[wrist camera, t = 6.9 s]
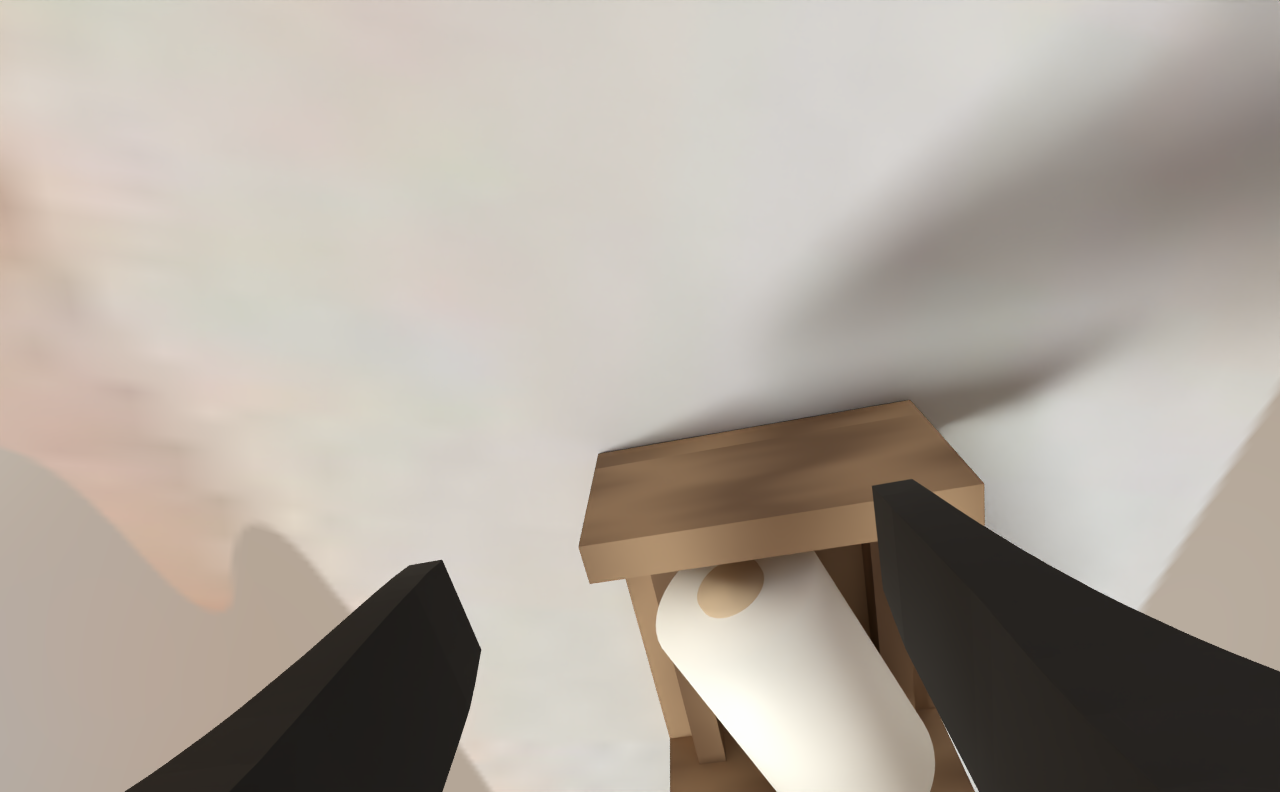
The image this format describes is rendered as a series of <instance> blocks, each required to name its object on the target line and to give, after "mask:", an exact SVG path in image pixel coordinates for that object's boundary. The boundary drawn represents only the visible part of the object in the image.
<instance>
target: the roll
mask: <svg viewBox="0 0 1280 792" xmlns="http://www.w3.org/2000/svg"><path fill="white" fill-rule="evenodd" d="M656 634H657V638H658V641H659V643H660V645H661V647H662V649H663V650H664V651H665V653H666V654H667V655H668V656H669V658H670V659H671V660H672V661H673V663H674V664H675V665H676V666H677V668H678V669H679V670H680V671H681V673H682V674H683V675H684V676H685V678H686V679H687V680H688V681H689V683H690V684H691V685H692V686H693V688H694V689H695V690H696V691H697V693H698V694H699V695H700V696H701V698H702V699H703V700H704V701H705V703H706V704H707V705H708V706H709V708H710V709H711V710H712V711H713V713H714V714H715V715H716V717H717V718H718V719H719V720H720V722H721V723H722V724H723V725H724V727H725V728H726V729H727V730H728V732H729V733H730V734H731V735H732V737H733V738H734V739H735V740H736V742H737V743H738V744H739V745H740V747H741V748H742V749H743V750H744V752H745V753H746V754H747V755H748V757H749V758H750V759H751V760H752V762H753V763H754V764H755V765H756V767H757V768H758V769H759V770H760V772H761V773H762V774H763V775H764V777H765V778H766V779H767V780H768V782H769V783H770V784H771V785H772V787H773V788H774V789H775V790H776V792H930V790H931V787H932V784H933V779H934V773H935V756H934V749H933V744H932V741H931V738H930V735H929V733H928V731H927V729H926V727H925V725H924V723H923V722H922V720H921V718H920V717H919V715H918V714H917V712H916V711H915V709H914V707H913V706H912V704H911V703H910V701H909V700H908V698H907V696H906V695H905V693H904V692H903V690H902V688H901V687H900V685H899V684H898V682H897V681H896V679H895V677H894V676H893V674H892V673H891V671H890V670H889V668H888V666H887V665H886V663H885V662H884V660H883V659H882V657H881V655H880V654H879V652H878V651H877V649H876V648H875V646H874V644H873V643H872V641H871V640H870V638H869V637H868V635H867V633H866V632H865V630H864V629H863V627H862V626H861V624H860V622H859V621H858V619H857V618H856V616H855V614H854V613H853V611H852V610H851V608H850V607H849V605H848V603H847V602H846V600H845V599H844V597H843V596H842V594H841V592H840V591H839V589H838V588H837V586H836V585H835V583H834V581H833V580H832V578H831V577H830V575H829V574H828V572H827V570H826V569H825V567H824V566H823V564H822V563H821V561H820V559H819V558H818V556H817V555H816V553H815V552H814V551H809V552H802V553H795V554H788V555H782V556H775V557H768V558H761V559H755V560H748V561H741V562H734V563H728V564H721V565H714V566H707V567H701V568H694V569H687V570H680V571H678V572H677V574H676V575H675V576H674V578H673V579H672V580H671V582H670V583H669V585H668V587H667V589H666V590H665V592H664V594H663V596H662V599H661V601H660V604H659V607H658V611H657V616H656Z"/></svg>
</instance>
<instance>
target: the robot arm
mask: <svg viewBox="0 0 1280 792" xmlns="http://www.w3.org/2000/svg"><path fill="white" fill-rule="evenodd" d="M872 493H873V502H874V511H875V521H876V530H877V539H878V548H879V558H880V567H881V576H882V586H883V591H884V593H885V596H886V599H887V601H888V604H889V607H890V610H891V612H892V615H893V618H894V621H895V623H896V626H897V628H898V631H899V633H900V636H901V639H902V641H903V644H904V646H905V649H906V651H907V653H908V655H909V657H910V659H911V661H912V663H913V665H914V667H915V669H916V671H917V672H918V674H919V676H920V678H921V680H922V682H923V684H924V686H925V688H926V690H927V692H928V694H929V696H930V698H931V700H932V702H933V704H934V706H935V707H936V709H937V711H938V713H939V715H940V717H941V719H942V721H943V723H944V725H945V727H946V729H947V731H948V733H949V734H950V736H951V738H952V740H953V742H954V744H955V746H956V748H957V750H958V752H959V754H960V756H961V758H962V760H963V761H964V763H965V765H966V767H967V769H968V771H969V773H970V775H971V777H972V779H973V781H974V783H975V785H976V787H977V788H978V790H979V792H1280V672H1279V671H1277V670H1274V669H1272V668H1269V667H1267V666H1264V665H1262V664H1259V663H1257V662H1254V661H1251V660H1249V659H1246V658H1244V657H1241V656H1239V655H1236V654H1234V653H1231V652H1229V651H1226V650H1224V649H1222V648H1219V647H1217V646H1215V645H1212V644H1210V643H1207V642H1205V641H1203V640H1200V639H1198V638H1196V637H1193V636H1191V635H1189V634H1187V633H1184V632H1182V631H1180V630H1178V629H1175V628H1173V627H1171V626H1169V625H1167V624H1165V623H1163V622H1161V621H1158V620H1156V619H1154V618H1152V617H1150V616H1147V615H1145V614H1143V613H1141V612H1139V611H1137V610H1135V609H1132V608H1130V607H1128V606H1126V605H1124V604H1122V603H1120V602H1118V601H1116V600H1114V599H1112V598H1110V597H1108V596H1106V595H1104V594H1102V593H1100V592H1098V591H1096V590H1094V589H1092V588H1090V587H1089V586H1087V585H1085V584H1083V583H1081V582H1079V581H1077V580H1076V579H1074V578H1072V577H1070V576H1068V575H1066V574H1064V573H1063V572H1061V571H1059V570H1057V569H1055V568H1053V567H1052V566H1050V565H1048V564H1046V563H1044V562H1043V561H1041V560H1039V559H1038V558H1036V557H1034V556H1032V555H1031V554H1029V553H1027V552H1025V551H1024V550H1022V549H1020V548H1019V547H1017V546H1015V545H1014V544H1012V543H1010V542H1009V541H1007V540H1006V539H1004V538H1002V537H1001V536H999V535H997V534H996V533H994V532H993V531H991V530H989V529H988V528H986V527H985V526H983V525H981V524H980V523H978V522H977V521H975V520H974V519H972V518H971V517H969V516H968V515H966V514H964V513H963V512H961V511H960V510H958V509H957V508H955V507H954V506H952V505H951V504H949V503H948V502H946V501H945V500H943V499H942V498H940V497H939V496H937V495H936V494H934V493H933V492H931V491H930V490H928V489H927V488H925V487H924V486H922V485H921V484H919V483H918V482H916V481H915V480H913V479H908V480H902V481H896V482H891V483H885V484H879V485H873V486H872ZM480 654H481V648H480V646H479V643H478V641H477V639H476V636H475V634H474V632H473V630H472V627H471V625H470V623H469V620H468V618H467V616H466V613H465V611H464V609H463V607H462V604H461V602H460V600H459V597H458V595H457V593H456V590H455V588H454V586H453V584H452V581H451V579H450V577H449V574H448V572H447V570H446V567H445V565H444V563H443V561H442V560H438V561H432V562H426V563H421V564H415V565H409V566H408V567H407V568H405V569H404V570H403V571H401V572H400V573H398V574H397V575H396V576H395V577H393V578H392V579H391V580H390V581H388V582H387V583H386V584H385V585H384V586H382V587H381V588H380V589H379V590H378V591H377V592H375V593H374V594H373V595H372V596H371V597H370V598H369V599H367V600H366V601H365V602H364V603H363V604H362V605H361V606H359V607H358V608H357V609H356V610H355V611H354V612H353V613H351V614H350V615H349V616H348V617H347V618H346V619H345V620H344V621H342V622H341V623H340V624H339V625H338V626H337V627H336V628H335V629H333V630H332V631H331V632H330V633H329V634H328V635H326V636H325V637H324V638H323V639H322V640H321V641H320V642H319V643H317V644H316V645H315V646H314V647H313V648H312V649H311V650H309V651H308V652H307V653H306V654H305V655H304V656H302V657H301V658H300V659H299V660H298V661H296V662H295V663H294V664H293V665H292V666H290V667H289V668H288V669H287V670H286V671H284V672H283V673H282V674H281V675H280V676H278V677H277V678H276V679H275V680H274V681H272V682H271V683H270V684H269V685H268V686H266V687H265V688H264V689H263V690H262V691H260V692H259V693H258V694H257V695H256V696H254V697H253V698H252V699H251V700H249V701H248V702H247V703H246V704H245V705H243V706H242V707H241V708H240V709H238V710H237V711H236V712H235V713H233V714H232V715H231V716H230V717H228V718H227V719H226V720H224V721H223V722H222V723H220V724H219V725H218V726H217V727H215V728H214V729H213V730H212V731H210V732H209V733H208V734H206V735H205V736H203V737H202V738H201V739H199V740H198V741H196V742H195V743H194V744H192V745H191V746H190V747H188V748H187V749H185V750H184V751H183V752H181V753H180V754H179V755H177V756H176V757H174V758H173V759H172V760H170V761H169V762H168V763H166V764H165V765H163V766H162V767H161V768H159V769H158V770H156V771H155V772H154V773H152V774H151V775H149V776H148V777H146V778H145V779H143V780H142V781H140V782H139V783H137V784H135V785H134V786H132V787H131V788H130V789H128V790H126V791H125V792H442V791H443V788H444V785H445V782H446V779H447V776H448V773H449V771H450V767H451V765H452V762H453V759H454V756H455V753H456V750H457V747H458V744H459V741H460V737H461V734H462V731H463V728H464V725H465V722H466V719H467V716H468V713H469V709H470V705H471V701H472V696H473V691H474V687H475V682H476V676H477V671H478V665H479V659H480Z"/></svg>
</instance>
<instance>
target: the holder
mask: <svg viewBox="0 0 1280 792" xmlns="http://www.w3.org/2000/svg"><path fill="white" fill-rule="evenodd" d="M908 479H913V480H915V481H916V482H918V483H919V484H921V485H922V486H924V487H925V488H927V489H928V490H930V491H931V492H933V493H934V494H936V495H937V496H939V497H940V498H942V499H943V500H945V501H946V502H948V503H949V504H951V505H952V506H954V507H955V508H957V509H958V510H960V511H961V512H963V513H964V514H966V515H968V516H969V517H971V518H972V519H974V520H975V521H977V522H978V523H980V524H981V525H983V526H984V525H985V515H984V483H983V482H982V481H981V480H980V478H979V477H978V476H977V475H976V474H975V473H974V472H973V471H972V469H971V468H970V467H969V466H968V465H967V464H966V463H965V461H964V460H963V459H962V458H961V457H960V456H959V455H958V454H957V452H956V451H955V450H954V449H953V448H952V447H951V446H950V445H949V443H948V442H947V441H946V440H945V439H944V438H943V437H942V436H941V434H940V433H939V432H938V431H937V430H936V429H935V428H934V426H933V425H932V424H931V423H930V422H929V421H928V420H927V419H926V417H925V416H924V415H923V414H922V413H921V412H920V411H919V410H918V408H917V407H916V406H915V405H914V404H913V403H912V402H911V400H906V401H901V402H895V403H889V404H883V405H878V406H872V407H866V408H860V409H855V410H849V411H843V412H837V413H832V414H826V415H820V416H814V417H808V418H803V419H797V420H791V421H785V422H780V423H774V424H768V425H762V426H757V427H751V428H745V429H739V430H734V431H728V432H722V433H716V434H710V435H705V436H699V437H693V438H687V439H682V440H676V441H670V442H664V443H659V444H653V445H647V446H641V447H636V448H630V449H624V450H618V451H612V452H607V453H601V454H598V458H597V462H596V467H595V472H594V477H593V481H592V486H591V491H590V495H589V500H588V505H587V509H586V514H585V519H584V523H583V528H582V533H581V538H580V542H579V550H580V554H581V557H582V560H583V563H584V567H585V570H586V573H587V576H588V580H589V583H590V584H592V583H599V582H606V581H613V580H620V579H626V582H627V586H628V589H629V593H630V596H631V600H632V604H633V607H634V611H635V614H636V618H637V622H638V625H639V629H640V632H641V636H642V640H643V643H644V647H645V650H646V654H647V657H648V661H649V665H650V668H651V672H652V675H653V679H654V683H655V686H656V690H657V693H658V697H659V701H660V704H661V708H662V711H663V715H664V719H665V722H666V726H667V729H668V733H669V737H670V792H776V790H775V789H774V788H773V787H772V785H771V784H770V783H769V782H768V780H767V779H766V778H765V777H764V775H763V774H762V773H761V772H760V770H759V769H758V768H757V767H756V765H755V764H754V763H753V762H752V760H751V759H750V758H749V757H748V755H747V754H746V753H745V752H744V750H743V749H742V748H741V747H740V745H739V744H738V743H737V742H736V740H735V739H734V738H733V737H732V735H731V734H730V733H729V732H728V730H727V729H726V728H725V727H724V725H723V724H722V723H721V722H720V720H719V719H718V718H717V717H716V715H715V714H714V713H713V711H712V710H711V709H710V708H709V706H708V705H707V704H706V703H705V701H704V700H703V699H702V698H701V696H700V695H699V694H698V693H697V691H696V690H695V689H694V688H693V686H692V685H691V684H690V683H689V681H688V680H687V679H686V678H685V676H684V675H683V674H682V673H681V671H680V670H679V669H678V668H677V666H676V665H675V664H674V663H673V661H672V660H671V659H670V658H669V656H668V655H667V654H666V653H665V651H664V650H663V649H662V647H661V645H660V643H659V641H658V638H657V634H656V616H657V611H658V607H659V604H660V601H661V599H662V596H663V594H664V592H665V590H666V589H667V587H668V585H669V583H670V582H671V580H672V579H673V578H674V576H675V575H676V574H677V572H678V571H680V570H687V569H694V568H701V567H707V566H714V565H721V564H728V563H734V562H741V561H748V560H755V559H761V558H768V557H775V556H782V555H788V554H795V553H802V552H809V551H814V552H815V553H816V555H817V556H818V558H819V559H820V561H821V563H822V564H823V566H824V567H825V569H826V570H827V572H828V574H829V575H830V577H831V578H832V580H833V581H834V583H835V585H836V586H837V588H838V589H839V591H840V592H841V594H842V596H843V597H844V599H845V600H846V602H847V603H848V605H849V607H850V608H851V610H852V611H853V613H854V614H855V616H856V618H857V619H858V621H859V622H860V624H861V626H862V627H863V629H864V630H865V632H866V633H867V635H868V637H869V638H870V640H871V641H872V643H873V644H874V646H875V648H876V649H877V651H878V652H879V654H880V655H881V657H882V659H883V660H884V662H885V663H886V665H887V666H888V668H889V670H890V671H891V673H892V674H893V676H894V677H895V679H896V681H897V682H898V684H899V685H900V687H901V688H902V690H903V692H904V693H905V695H906V696H907V698H908V700H909V701H910V703H911V704H912V706H913V707H914V709H915V711H916V712H917V714H918V715H919V717H920V718H921V720H922V722H923V723H924V725H925V727H926V729H927V731H928V733H929V735H930V738H931V741H932V744H933V749H934V756H935V773H934V779H933V784H932V787H931V790H930V792H975V791H974V789H973V787H972V785H971V783H970V780H969V778H968V776H967V774H966V772H965V770H964V767H963V765H962V763H961V761H960V759H959V757H958V754H957V752H956V750H955V748H954V746H953V743H952V741H951V739H950V737H949V735H948V733H947V730H946V728H945V726H944V724H943V722H942V720H941V717H940V715H939V713H938V711H937V709H936V707H935V706H934V704H933V702H932V700H931V698H930V696H929V694H928V692H927V690H926V688H925V686H924V684H923V682H922V680H921V678H920V676H919V674H918V672H917V671H916V669H915V667H914V665H913V663H912V661H911V659H910V657H909V655H908V653H907V651H906V649H905V646H904V644H903V641H902V639H901V636H900V633H899V631H898V628H897V626H896V623H895V621H894V618H893V615H892V612H891V610H890V607H889V604H888V601H887V599H886V596H885V593H884V591H883V586H882V576H881V567H880V558H879V548H878V539H877V530H876V521H875V511H874V502H873V493H872V486H873V485H879V484H885V483H891V482H896V481H902V480H908Z"/></svg>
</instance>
